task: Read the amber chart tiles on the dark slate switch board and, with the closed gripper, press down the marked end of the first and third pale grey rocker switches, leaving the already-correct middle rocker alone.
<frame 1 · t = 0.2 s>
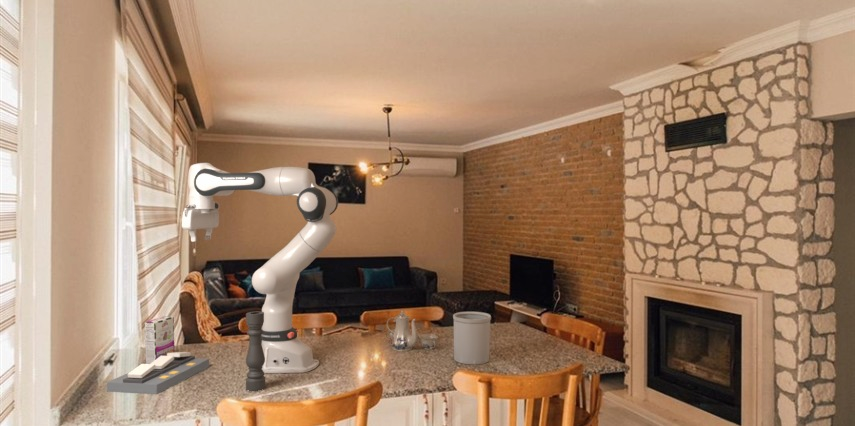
hand: (201, 240, 209), 47 cm above the counter, fingers open, 8 cm apart
switch b: (161, 362, 190), point 6 cm above the counter, hinge at -12.0°
chinaware: (407, 347, 231), on the counter
utensil holder: (472, 360, 211), on the counter
switch a: (179, 354, 200), point 6 cm above the counter, hinge at 12.0°
switch c: (141, 370, 180), point 6 cm above the counter, hinge at -12.0°
switch board: (161, 378, 190), on the counter
candy bar box: (160, 361, 212), on the counter
candle holder: (255, 389, 179), on the counter
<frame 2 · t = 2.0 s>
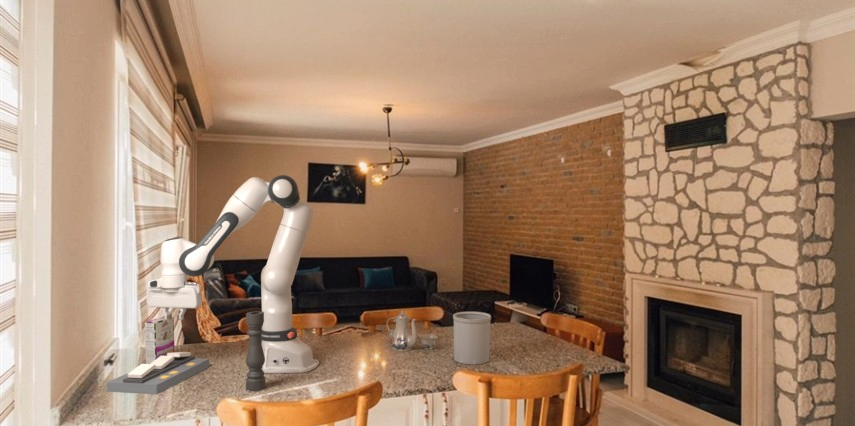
hand: (174, 319, 197), 19 cm above the counter, fingers open, 3 cm apart
nothing on the counter moved.
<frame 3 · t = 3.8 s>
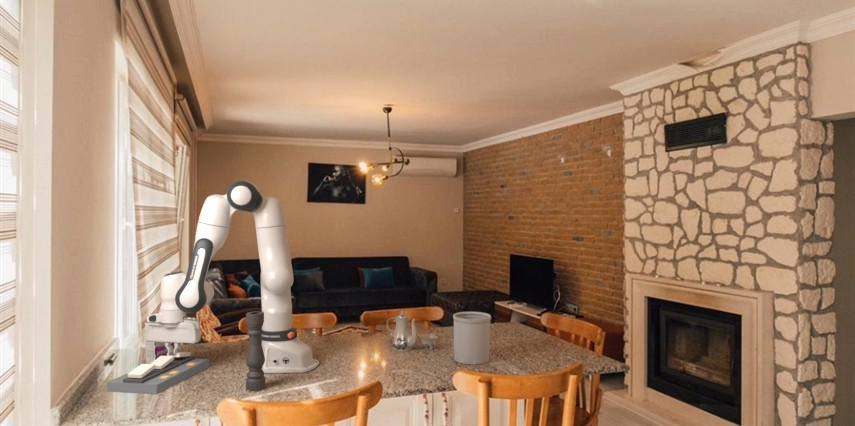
hand: (172, 354, 197), 7 cm above the counter, fingers closed, pressing on switch a
switch a: (179, 354, 200), point 6 cm above the counter, hinge at 10.8°, touching gripper
everything else where it was.
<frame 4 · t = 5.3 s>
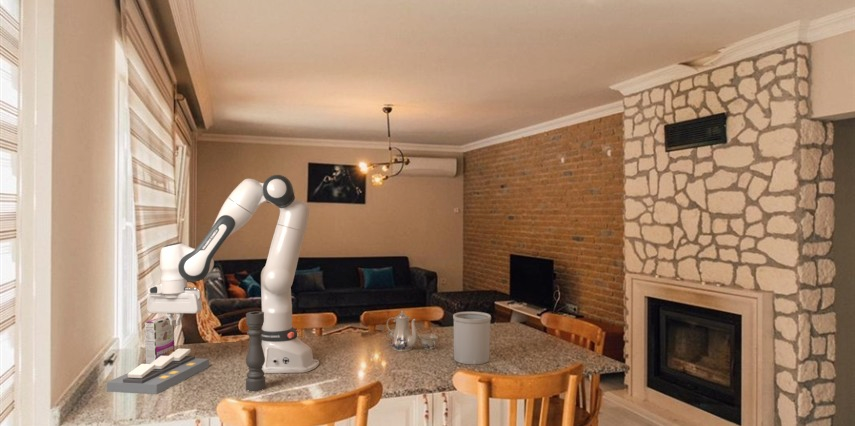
hand: (175, 325, 197), 17 cm above the counter, fingers closed
switch a: (178, 354, 200), point 6 cm above the counter, hinge at -11.8°
everything else where it was.
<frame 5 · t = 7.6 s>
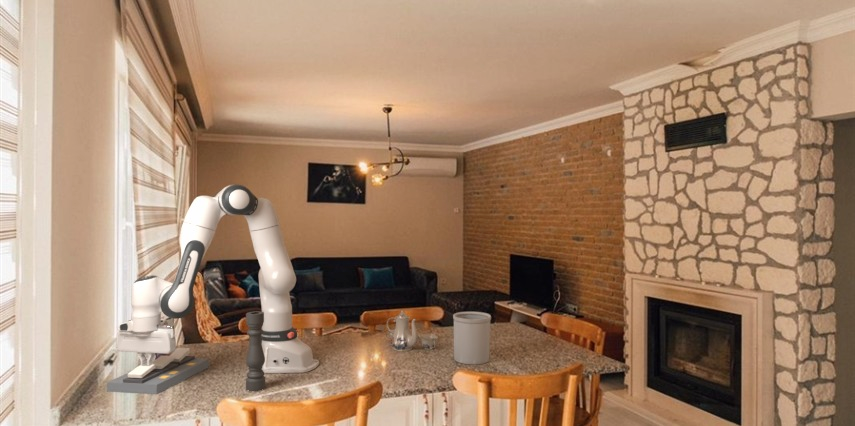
hand: (146, 365, 183), 7 cm above the counter, fingers closed, pressing on switch c
switch a: (178, 354, 200), point 6 cm above the counter, hinge at -18.4°
switch c: (141, 370, 180), point 6 cm above the counter, hinge at -11.9°, touching gripper
everything else where it was.
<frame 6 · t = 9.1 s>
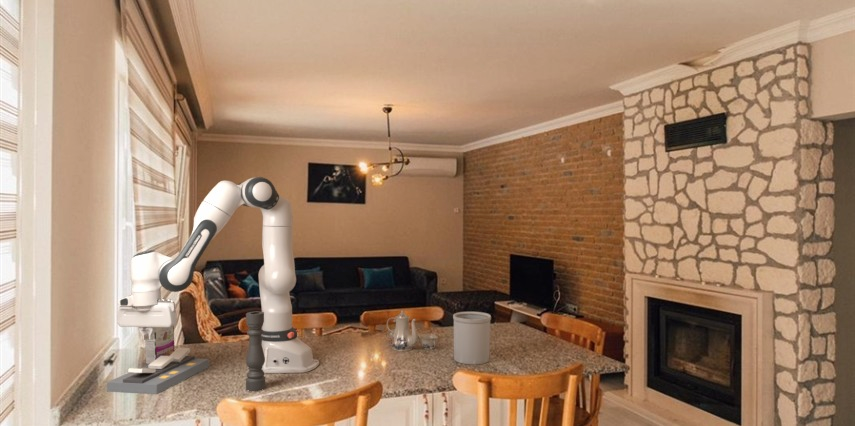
hand: (148, 339, 183), 15 cm above the counter, fingers closed
switch a: (178, 354, 200), point 6 cm above the counter, hinge at -19.1°, touching switch board
switch c: (142, 370, 180), point 6 cm above the counter, hinge at 16.9°
everything else where it was.
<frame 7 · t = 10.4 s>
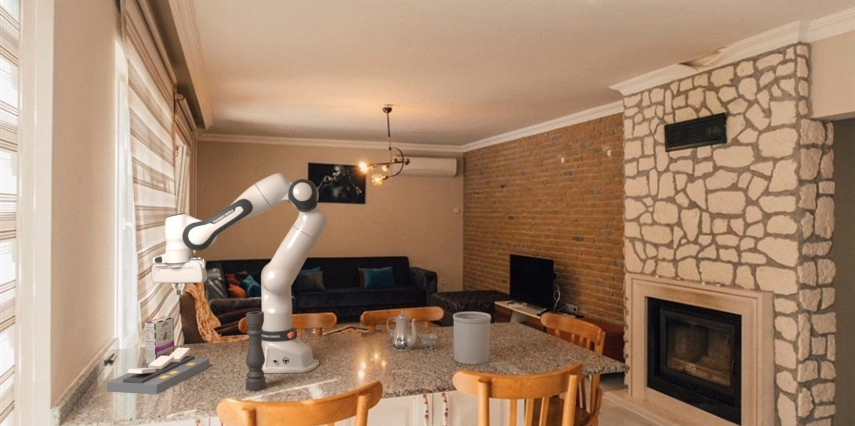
hand: (180, 294, 199), 28 cm above the counter, fingers closed
switch c: (142, 370, 180), point 6 cm above the counter, hinge at 13.3°
everything else where it was.
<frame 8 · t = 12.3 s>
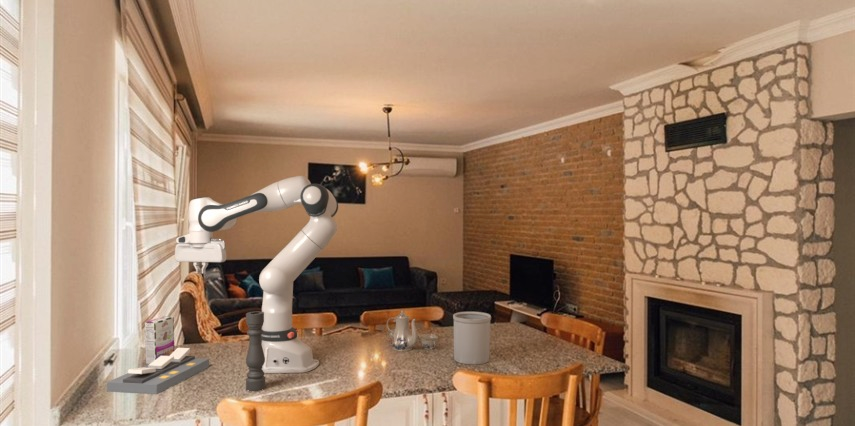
hand: (200, 273, 212), 34 cm above the counter, fingers closed
switch c: (142, 370, 180), point 6 cm above the counter, hinge at 11.2°
everything else where it was.
at the end: switch a at -19° (first picture: +12°); switch b at -12° (first picture: -12°); switch c at +11° (first picture: -12°) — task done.
